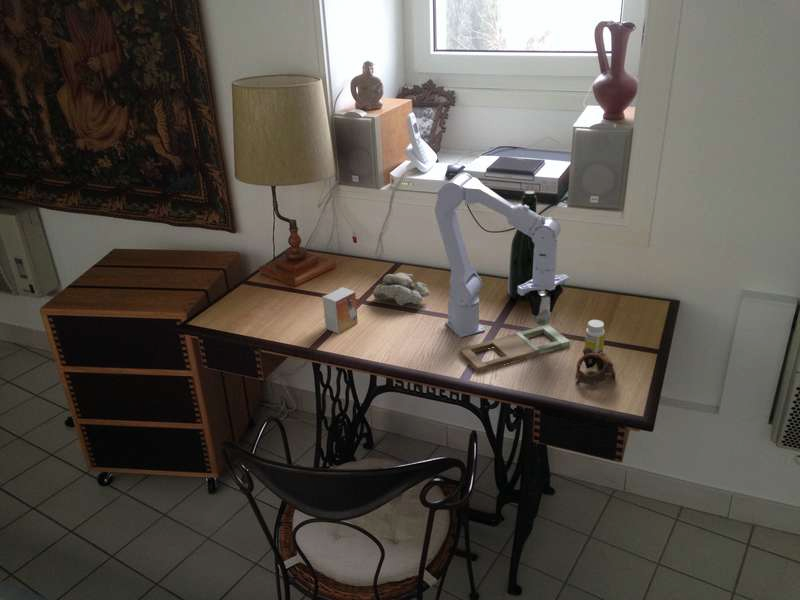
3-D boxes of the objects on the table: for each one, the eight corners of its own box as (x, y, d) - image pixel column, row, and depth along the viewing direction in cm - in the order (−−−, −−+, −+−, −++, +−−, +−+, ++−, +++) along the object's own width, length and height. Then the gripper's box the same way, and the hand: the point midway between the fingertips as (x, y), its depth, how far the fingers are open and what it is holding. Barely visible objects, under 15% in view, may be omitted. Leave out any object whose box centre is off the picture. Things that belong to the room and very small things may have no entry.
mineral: (423, 308, 200) (428, 274, 200) (367, 301, 203) (371, 267, 203) (430, 309, 212) (435, 277, 212) (377, 301, 215) (381, 270, 215)
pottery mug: (625, 387, 166) (617, 369, 160) (589, 404, 167) (581, 387, 162) (602, 351, 175) (595, 334, 169) (569, 368, 176) (560, 351, 170)
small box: (338, 334, 193) (335, 302, 188) (325, 328, 197) (321, 296, 192) (358, 323, 198) (355, 291, 193) (345, 317, 202) (342, 286, 197)
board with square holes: (459, 353, 181) (459, 348, 181) (547, 329, 191) (548, 323, 190) (477, 372, 173) (477, 367, 172) (569, 345, 183) (569, 340, 182)
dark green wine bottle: (526, 283, 216) (531, 183, 201) (549, 295, 208) (556, 192, 193) (500, 292, 212) (503, 190, 196) (523, 305, 204) (527, 200, 188)
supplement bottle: (599, 345, 182) (602, 318, 178) (605, 355, 178) (608, 327, 174) (581, 346, 182) (584, 319, 178) (586, 356, 178) (589, 328, 174)
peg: (531, 319, 182) (532, 293, 179) (543, 316, 184) (545, 289, 180) (539, 326, 179) (540, 299, 175) (552, 322, 180) (554, 295, 177)
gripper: (529, 278, 168) (526, 325, 175) (577, 266, 173) (573, 312, 179) (513, 267, 174) (512, 313, 180) (561, 256, 179) (557, 301, 185)
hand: (541, 312), depth 180 cm, fingers closed on peg, 4 cm apart
